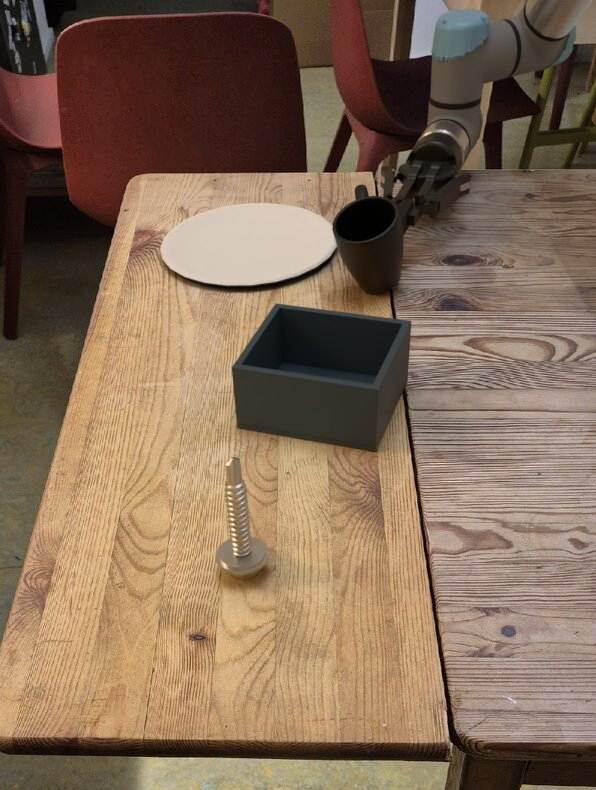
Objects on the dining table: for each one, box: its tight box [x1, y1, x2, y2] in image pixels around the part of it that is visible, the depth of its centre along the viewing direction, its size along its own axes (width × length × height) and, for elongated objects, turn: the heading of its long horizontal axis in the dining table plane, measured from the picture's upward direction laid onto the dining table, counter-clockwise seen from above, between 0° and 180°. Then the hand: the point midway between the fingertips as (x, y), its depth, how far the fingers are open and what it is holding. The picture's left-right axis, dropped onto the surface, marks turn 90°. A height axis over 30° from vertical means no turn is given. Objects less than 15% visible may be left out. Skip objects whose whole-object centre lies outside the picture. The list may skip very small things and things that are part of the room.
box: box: [231, 303, 412, 452], centre depth 100 cm, size 14×16×8 cm
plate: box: [159, 202, 338, 288], centre depth 130 cm, size 25×25×1 cm
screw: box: [215, 456, 270, 581], centre depth 81 cm, size 13×5×5 cm
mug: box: [332, 184, 405, 295], centre depth 117 cm, size 8×12×10 cm
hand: (395, 230), depth 118 cm, fingers closed
